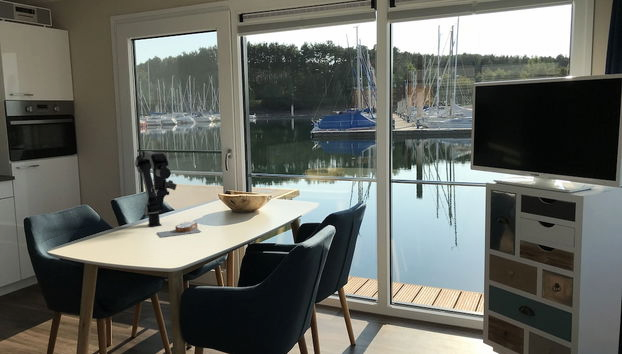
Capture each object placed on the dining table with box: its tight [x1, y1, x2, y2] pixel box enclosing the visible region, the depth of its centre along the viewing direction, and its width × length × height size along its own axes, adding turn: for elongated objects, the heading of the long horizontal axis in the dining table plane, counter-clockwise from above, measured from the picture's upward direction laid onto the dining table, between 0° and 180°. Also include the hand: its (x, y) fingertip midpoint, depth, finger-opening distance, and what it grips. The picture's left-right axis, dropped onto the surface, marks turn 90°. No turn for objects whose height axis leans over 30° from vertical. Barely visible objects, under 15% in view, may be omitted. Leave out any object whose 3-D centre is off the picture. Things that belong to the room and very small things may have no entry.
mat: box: [156, 227, 202, 238], centre depth 271 cm, size 11×20×1 cm, turn 116°
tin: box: [175, 221, 198, 233], centre depth 276 cm, size 15×3×8 cm
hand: (161, 206), depth 278 cm, fingers closed
